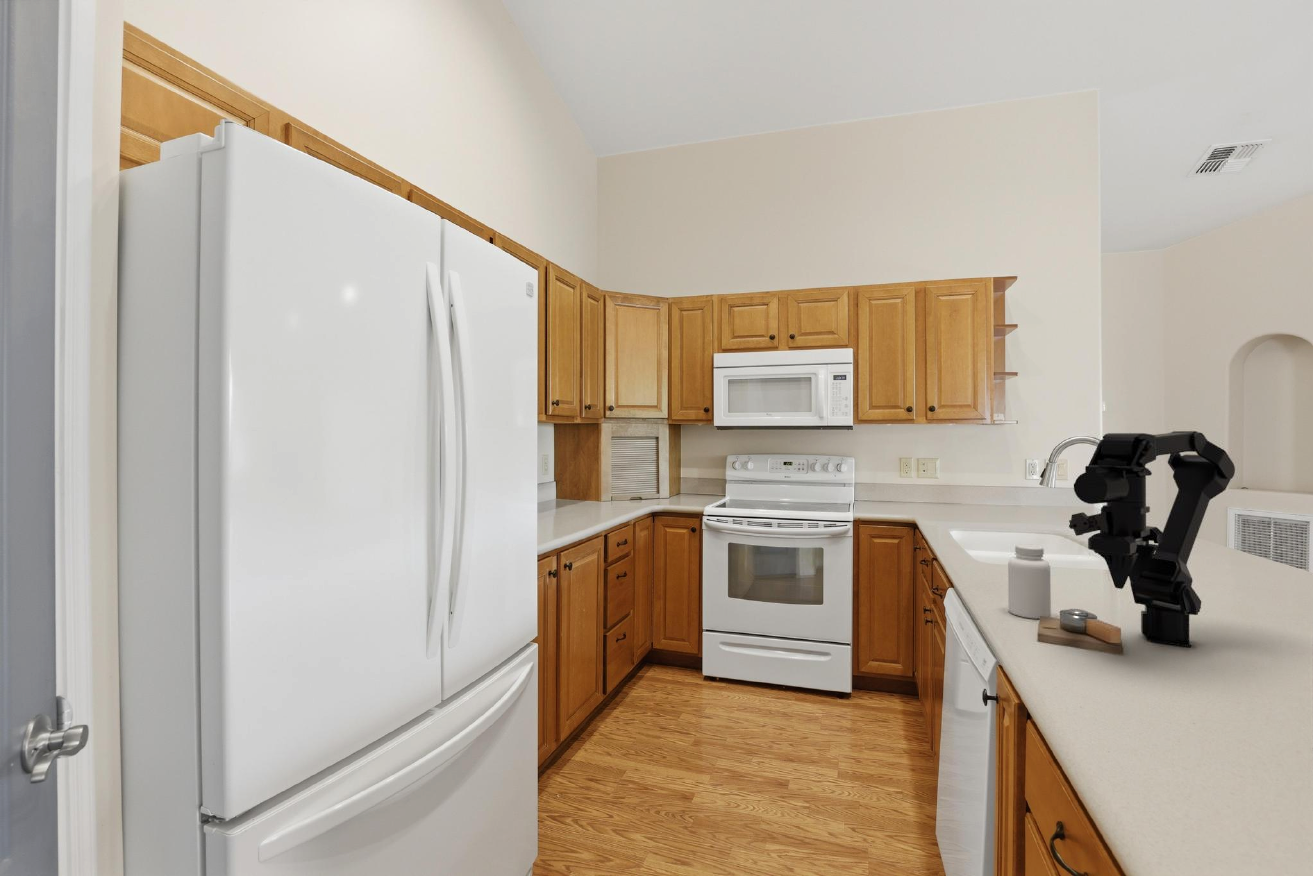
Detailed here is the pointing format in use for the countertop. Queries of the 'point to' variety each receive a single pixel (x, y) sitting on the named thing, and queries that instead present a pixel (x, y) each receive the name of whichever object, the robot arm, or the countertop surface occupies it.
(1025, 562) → the pill bottle
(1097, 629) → the metal and wood piece
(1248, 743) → the countertop surface
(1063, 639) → the base plate
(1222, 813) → the countertop surface
